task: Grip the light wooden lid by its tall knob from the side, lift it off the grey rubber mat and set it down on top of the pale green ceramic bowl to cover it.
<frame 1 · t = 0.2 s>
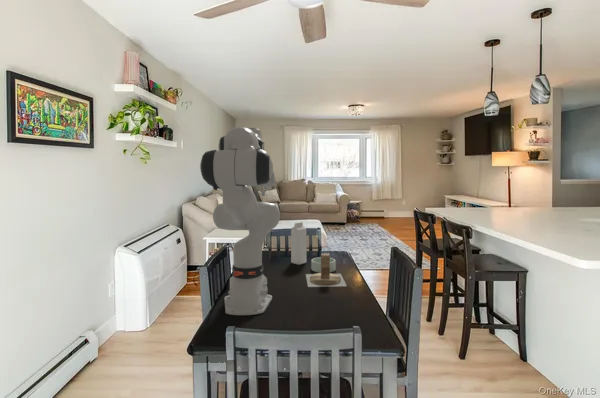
hand: (252, 195, 161), 39 cm above the table, tool pointing down, fingers open, 8 cm apart
milk: (298, 263, 195), on the table
bowl: (323, 269, 181), on the table
mat: (325, 280, 164), on the table
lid: (325, 279, 164), resting on mat
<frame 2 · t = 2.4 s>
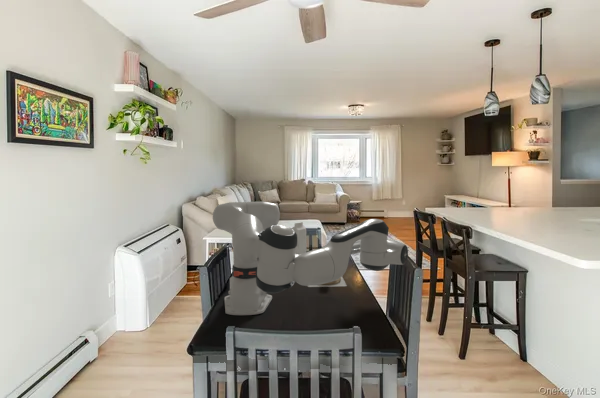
hand: (345, 242, 153), 20 cm above the table, tool horizontal, fingers open, 8 cm apart
nothing on the table moved.
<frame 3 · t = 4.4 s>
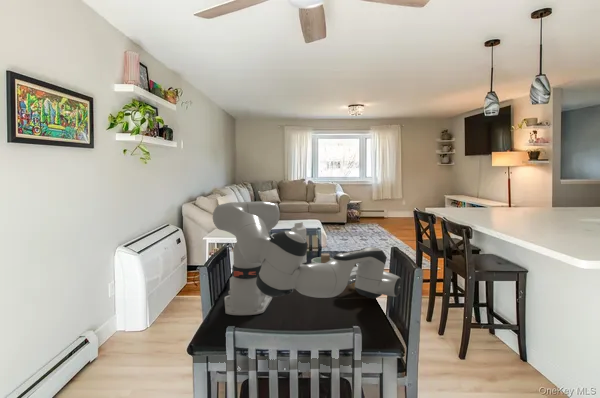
hand: (341, 270, 157), 7 cm above the table, tool horizontal, fingers open, 8 cm apart
nothing on the table moved.
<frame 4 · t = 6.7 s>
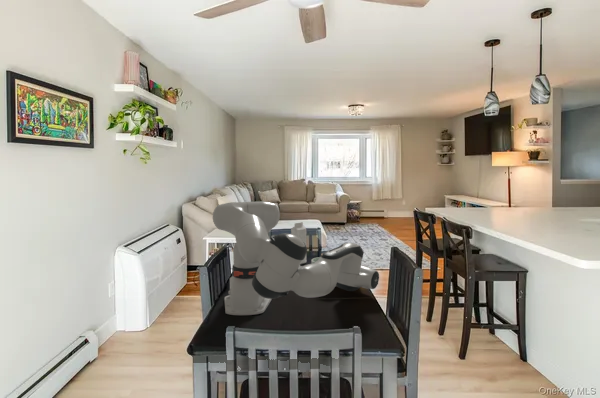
hand: (323, 264, 164), 7 cm above the table, tool horizontal, fingers closed on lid, 5 cm apart
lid: (325, 279, 164), resting on mat, touching gripper
everything else where it was.
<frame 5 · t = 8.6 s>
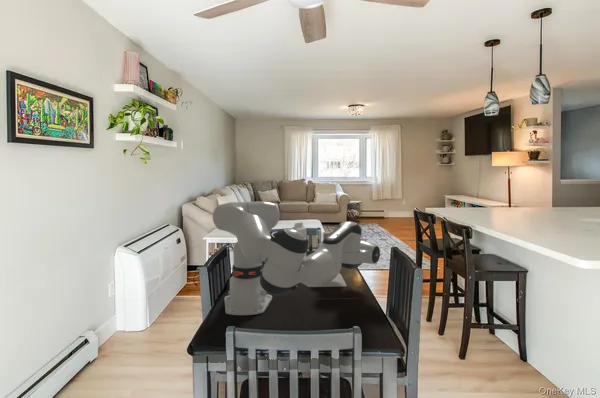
hand: (326, 242, 167), 17 cm above the table, tool horizontal, fingers closed on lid, 5 cm apart
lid: (327, 257, 167), point 10 cm above the table, touching gripper
everything else where it was.
when the fingers open (13 cm above the table, at t = 10.6 s): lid drops 1 cm, resting on bowl.
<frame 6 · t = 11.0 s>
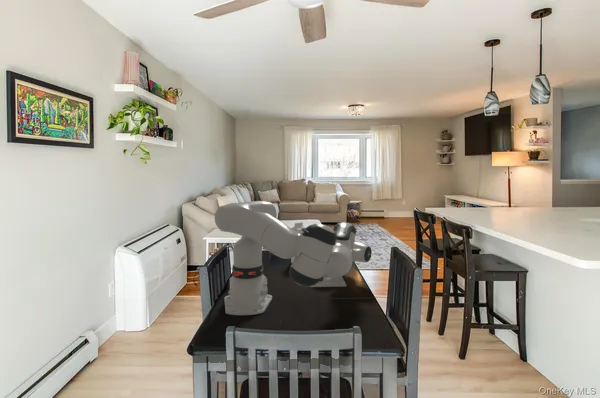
hand: (322, 243, 181), 13 cm above the table, tool horizontal, fingers open, 8 cm apart
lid: (323, 260, 181), point 5 cm above the table, touching bowl
everything else where it was.
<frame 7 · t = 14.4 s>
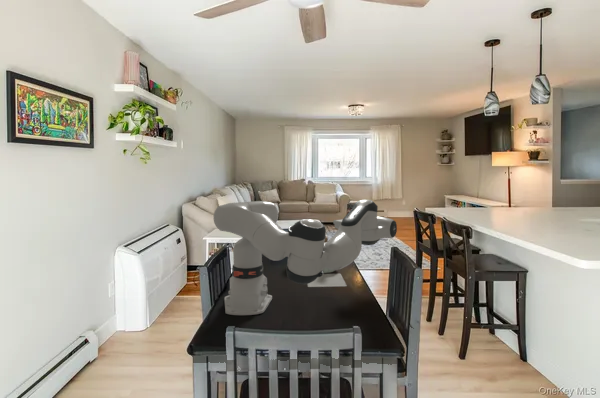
hand: (341, 220, 170), 27 cm above the table, tool horizontal, fingers open, 8 cm apart
nothing on the table moved.
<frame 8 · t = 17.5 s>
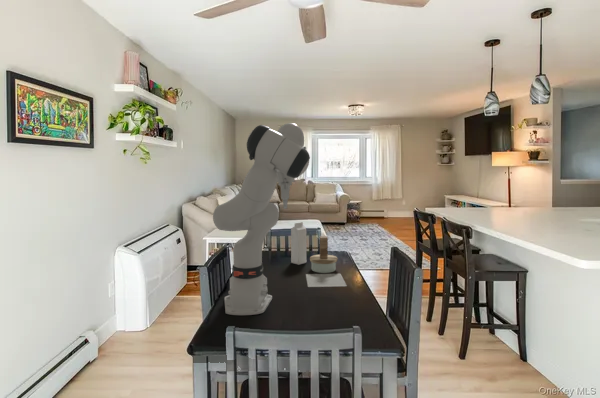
hand: (285, 207, 169), 33 cm above the table, tool pointing down, fingers open, 8 cm apart
nothing on the table moved.
at the end: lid 0.1 cm from the bowl (horizontally); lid point 5.0 cm above the table; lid tilted 0° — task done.
